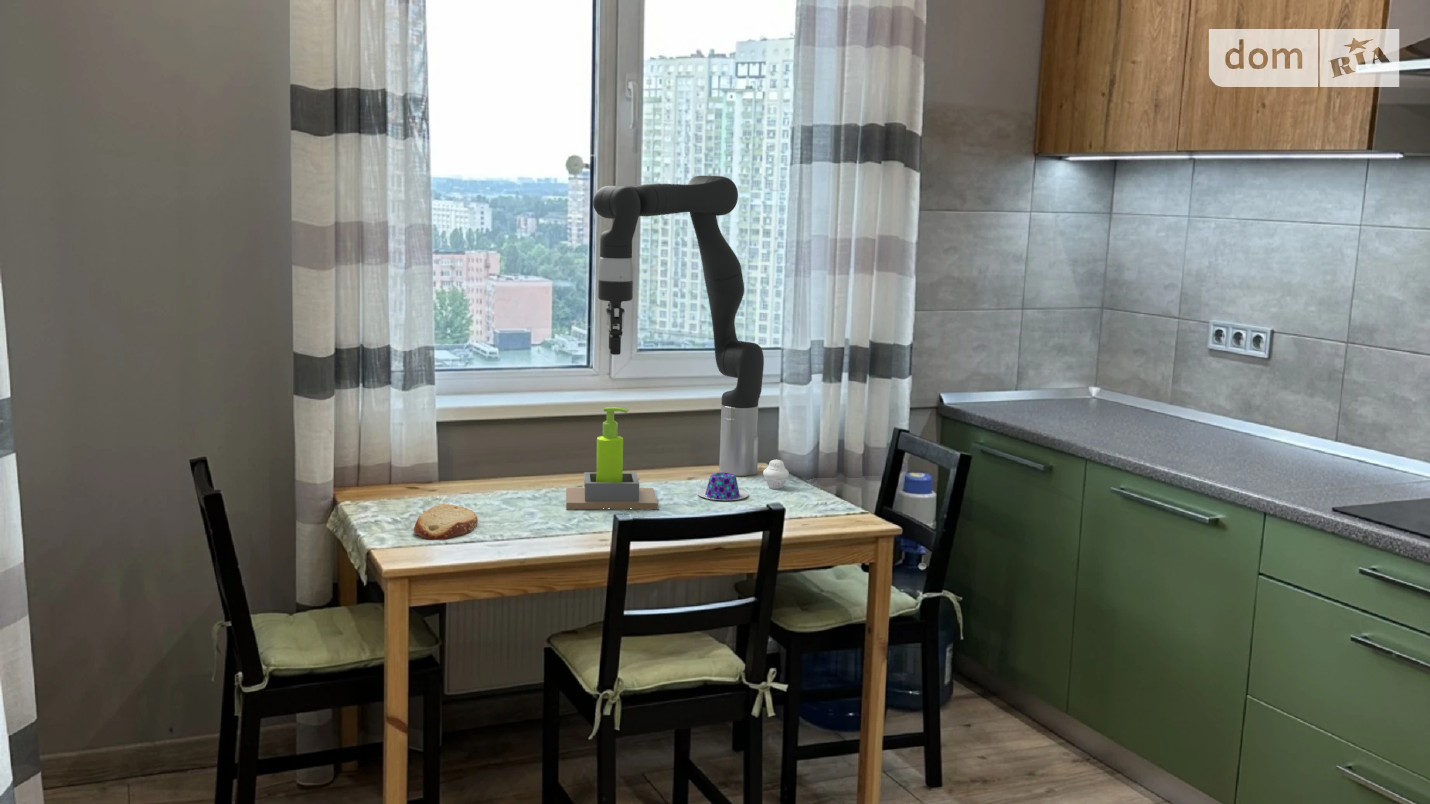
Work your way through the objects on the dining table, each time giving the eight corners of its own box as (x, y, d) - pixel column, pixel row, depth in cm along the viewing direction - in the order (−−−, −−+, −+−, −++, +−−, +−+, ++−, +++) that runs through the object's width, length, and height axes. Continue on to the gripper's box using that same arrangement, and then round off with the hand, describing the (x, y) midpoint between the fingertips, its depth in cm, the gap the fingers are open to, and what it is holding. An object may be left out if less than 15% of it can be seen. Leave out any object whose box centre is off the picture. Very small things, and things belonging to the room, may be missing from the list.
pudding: (690, 499, 283) (690, 477, 282) (705, 488, 294) (706, 467, 293) (740, 505, 280) (741, 482, 279) (754, 493, 291) (755, 472, 290)
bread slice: (454, 511, 267) (454, 494, 266) (505, 528, 255) (505, 511, 254) (381, 526, 254) (381, 508, 253) (431, 544, 242) (431, 526, 241)
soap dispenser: (625, 498, 275) (627, 410, 271) (594, 497, 275) (595, 409, 271) (627, 492, 280) (629, 405, 277) (597, 491, 280) (598, 404, 277)
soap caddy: (653, 494, 286) (653, 471, 285) (657, 509, 272) (658, 485, 271) (566, 494, 283) (566, 470, 282) (566, 509, 270) (566, 485, 269)
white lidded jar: (788, 485, 299) (790, 457, 298) (787, 491, 293) (789, 462, 292) (763, 483, 300) (764, 455, 299) (761, 489, 294) (762, 461, 293)
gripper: (634, 281, 263) (633, 356, 266) (631, 276, 277) (629, 348, 280) (599, 280, 262) (598, 356, 265) (597, 275, 276) (596, 347, 279)
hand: (614, 351), depth 273 cm, fingers open, 8 cm apart
